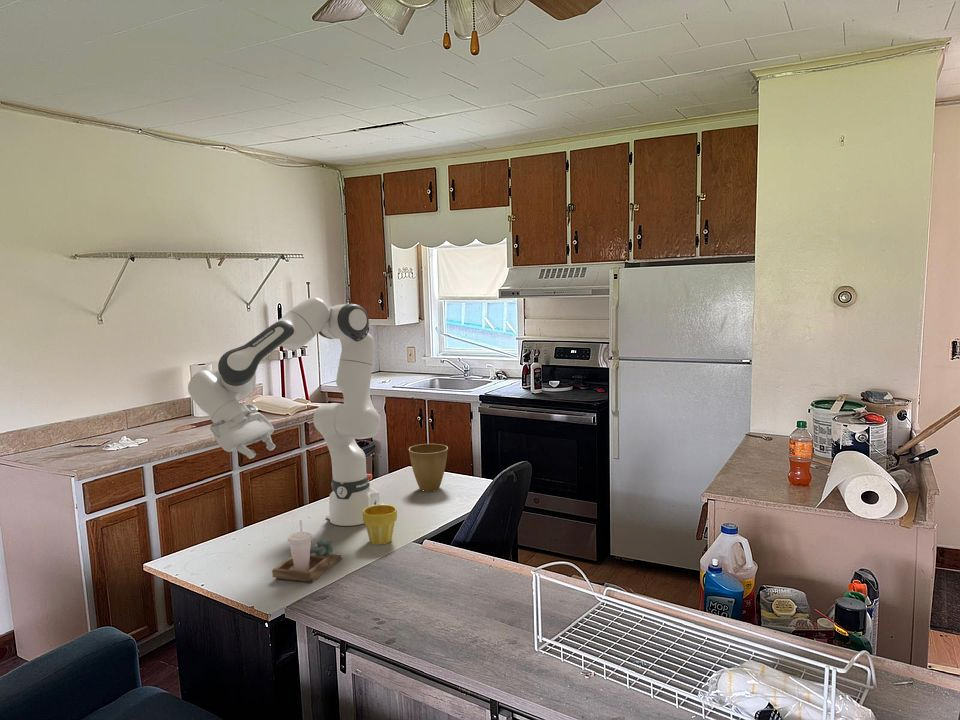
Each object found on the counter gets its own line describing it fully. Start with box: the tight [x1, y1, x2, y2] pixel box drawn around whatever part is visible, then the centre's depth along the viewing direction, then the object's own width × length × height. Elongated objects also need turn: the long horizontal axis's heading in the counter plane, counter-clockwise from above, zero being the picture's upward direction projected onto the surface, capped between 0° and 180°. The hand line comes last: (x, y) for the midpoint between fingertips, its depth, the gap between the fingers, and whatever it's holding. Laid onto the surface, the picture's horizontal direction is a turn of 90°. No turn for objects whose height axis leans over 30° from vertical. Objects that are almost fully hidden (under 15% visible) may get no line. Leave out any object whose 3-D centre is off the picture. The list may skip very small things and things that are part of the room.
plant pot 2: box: [408, 443, 449, 492], centre depth 256 cm, size 15×15×16 cm
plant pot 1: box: [363, 504, 398, 545], centre depth 205 cm, size 10×10×10 cm
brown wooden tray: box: [271, 540, 342, 583], centre depth 187 cm, size 20×11×4 cm, turn 164°
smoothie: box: [287, 519, 313, 572], centre depth 182 cm, size 6×6×14 cm
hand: (263, 452), depth 190 cm, fingers open, 8 cm apart
